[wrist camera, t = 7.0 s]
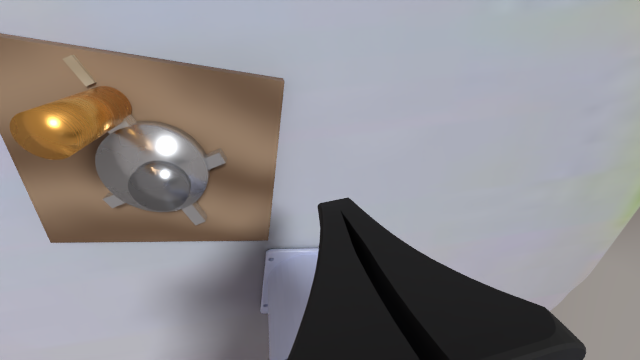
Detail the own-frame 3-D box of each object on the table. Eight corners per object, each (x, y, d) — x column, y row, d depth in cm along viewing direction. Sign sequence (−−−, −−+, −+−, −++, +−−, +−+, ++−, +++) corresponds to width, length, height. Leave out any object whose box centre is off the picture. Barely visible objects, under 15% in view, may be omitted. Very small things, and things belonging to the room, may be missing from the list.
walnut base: (267, 231, 22) (268, 242, 21) (62, 230, 18) (48, 244, 17) (282, 78, 16) (284, 82, 15) (-22, 29, 12) (-52, 29, 11)
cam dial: (251, 197, 19) (248, 245, 14) (153, 236, 19) (122, 296, 14) (165, 59, 13) (120, 72, 9) (27, 114, 13) (-82, 153, 9)
